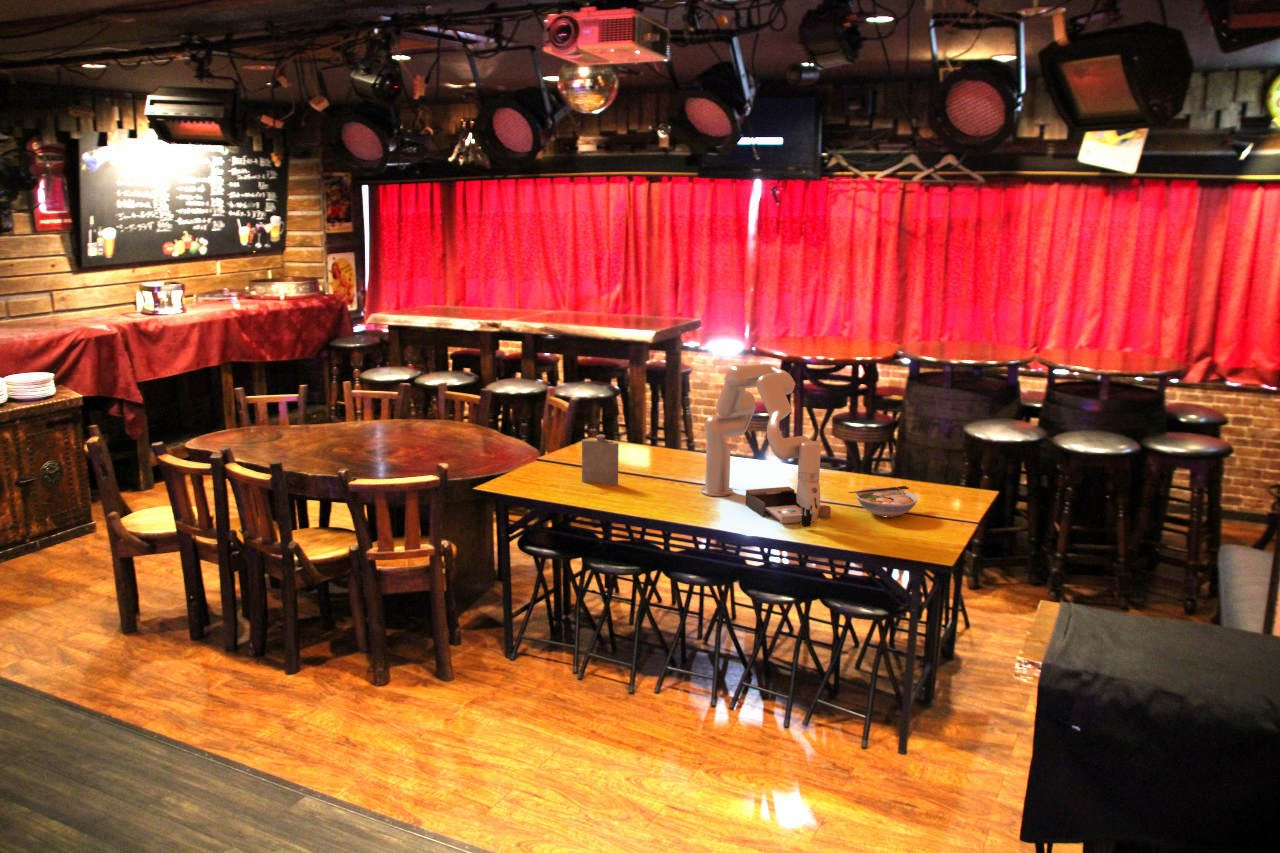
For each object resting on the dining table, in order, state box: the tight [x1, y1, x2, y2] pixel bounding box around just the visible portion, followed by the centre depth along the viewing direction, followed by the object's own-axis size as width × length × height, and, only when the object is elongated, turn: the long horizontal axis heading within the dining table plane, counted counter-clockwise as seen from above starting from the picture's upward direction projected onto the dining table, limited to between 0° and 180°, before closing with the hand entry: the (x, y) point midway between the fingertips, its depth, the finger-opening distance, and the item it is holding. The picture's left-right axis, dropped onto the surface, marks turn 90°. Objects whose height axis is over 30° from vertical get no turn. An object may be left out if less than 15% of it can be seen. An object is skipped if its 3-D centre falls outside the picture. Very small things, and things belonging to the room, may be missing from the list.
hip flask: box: [581, 434, 620, 487], centre depth 426 cm, size 16×4×20 cm, turn 68°
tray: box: [765, 505, 818, 524], centre depth 384 cm, size 16×14×2 cm
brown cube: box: [817, 504, 832, 520], centre depth 386 cm, size 4×4×4 cm
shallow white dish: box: [781, 508, 801, 516], centre depth 383 cm, size 7×7×2 cm
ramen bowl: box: [848, 485, 919, 518], centre depth 390 cm, size 25×23×8 cm
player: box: [745, 486, 801, 518], centre depth 395 cm, size 16×18×6 cm
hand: (806, 525), depth 372 cm, fingers closed
